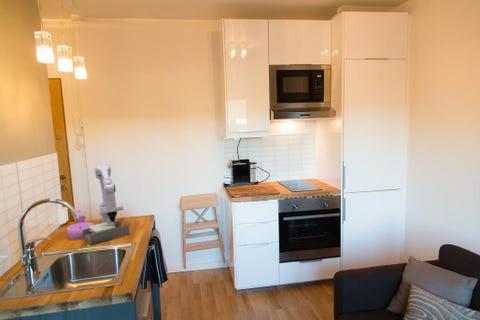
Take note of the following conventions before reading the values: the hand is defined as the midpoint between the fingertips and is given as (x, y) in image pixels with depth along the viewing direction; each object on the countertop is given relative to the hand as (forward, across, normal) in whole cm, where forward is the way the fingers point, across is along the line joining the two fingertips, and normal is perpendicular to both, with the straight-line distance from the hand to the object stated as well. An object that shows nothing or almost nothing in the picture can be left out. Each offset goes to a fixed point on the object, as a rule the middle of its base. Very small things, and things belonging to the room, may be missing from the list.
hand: (112, 223), depth 200 cm
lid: (+2, -7, 0) cm, 7 cm away
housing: (+8, -5, 0) cm, 9 cm away
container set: (+8, -14, +21) cm, 27 cm away
